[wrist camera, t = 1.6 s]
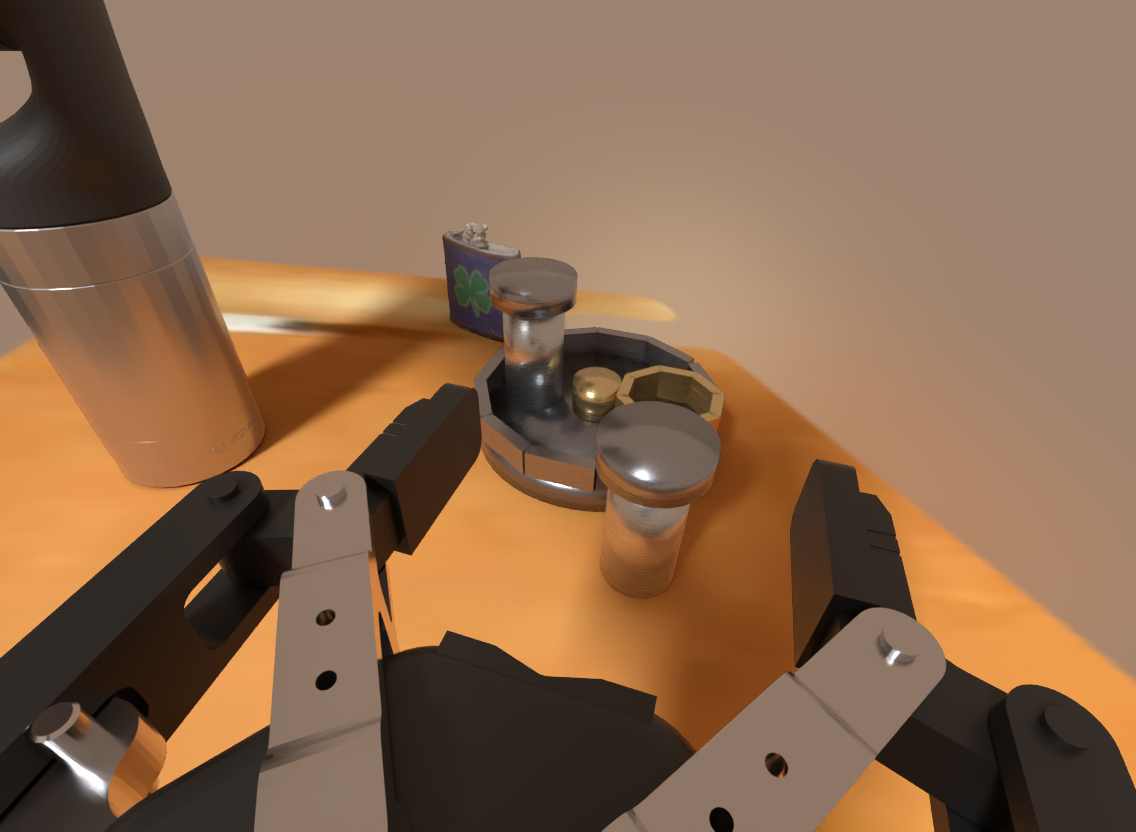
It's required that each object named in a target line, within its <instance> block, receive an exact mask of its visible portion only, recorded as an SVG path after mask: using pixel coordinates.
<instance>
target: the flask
mask: <svg viewBox="0 0 1136 832" xmlns="http://www.w3.org/2000/svg"><path fill="white" fill-rule="evenodd" d="M481 224H482V225H483V226H480V225H478V224H476V223H471V226H470V224H467V225H466V228H467V229H468V231H469V230H471V231H472V232H471V233H467V232H465V231H464V230H465V229H461V230H459V231H449V232H446V233H445V234H444V235H443V244H444V253H445V264H446V274H447V287H448V298H449V307H450V320H451V321H452V322H453V323H454V324H456V325H458V326H459V327H461V328H464V329H465V330H467V331H471V332H473V333H474V332H475V333H477V334H479V335H481V336H484V337H487V338H490V339H493V340H496V341H499V342H504V330H503V312H501V311H499V310H498V309H496V308H495V307H494V306H493V305H492V303H491V300H490V284H489V272H490V270H491V269H492V268H493V267H494V266H495V265H497V264H499V263H501V262H504V261H507V260H511V259H516V258H521V256H520V255H521V254H520V251H519V250H518V249H516V248H512V247H507V246H502V245H499V244H494V243H491V242H487V241H485V237H486V234H485V233H484V231H486V230H487V229H488V226H487V225H486V224H485V223H481Z"/></svg>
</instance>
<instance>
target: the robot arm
mask: <svg viewBox="0 0 1136 832" xmlns="http://www.w3.org/2000/svg"><path fill="white" fill-rule="evenodd" d="M0 51H22V53H23V56H24V59H25V62H26V65H27V68H28V72H29V75H30V78H31V85H32V93H31V95H30V97H29V99H28V100H27V102H26V103H25V104H24V105H23V106H22V107H21V108H20V109H19V110H18V111H17V112H16V113H15V114H14V115H12V116H11V117H9V118H8V119H7V120H5V121H4V122H1V123H0V284H1V285H2V287H3V289H4V290H5V292H6V293H7V295H8V296H9V298H10V299H11V301H12V302H13V304H14V305H15V307H16V308H17V310H18V312H19V313H20V315H21V316H22V318H23V320H24V321H25V323H26V324H27V326H28V327H29V329H30V330H31V332H32V333H33V335H34V337H35V338H36V340H37V341H38V343H39V346H40V348H41V349H42V351H43V352H44V354H45V355H46V357H47V358H48V360H49V361H50V363H51V364H52V366H53V368H54V369H55V371H56V372H57V374H58V375H59V377H60V378H61V380H62V381H63V383H64V385H65V386H66V388H67V389H68V391H69V392H70V394H71V395H72V397H73V398H74V400H75V402H76V403H77V405H78V406H79V408H80V409H81V411H82V412H83V414H84V415H85V417H86V419H87V420H88V422H89V423H90V425H91V426H92V428H93V429H94V431H95V432H96V434H97V435H98V437H99V439H100V440H101V442H102V443H103V445H104V446H105V448H106V449H107V451H108V452H109V454H110V456H112V457H113V459H114V460H115V462H116V463H117V465H118V466H119V468H120V469H121V471H122V472H123V474H124V476H125V477H126V478H127V479H129V480H130V481H132V482H133V483H136V484H139V485H142V486H147V487H157V488H162V487H176V486H182V485H188V484H192V483H196V482H199V481H202V480H206V479H208V480H206V481H204V482H202V483H201V484H200V485H198V486H197V487H196V488H195V489H193V490H192V491H191V492H190V493H189V494H188V495H187V496H185V497H184V498H183V499H182V500H181V501H180V502H179V503H177V504H176V505H175V506H174V507H173V508H172V509H171V510H169V511H168V512H167V513H166V514H165V515H164V516H162V517H161V518H160V519H159V520H158V521H157V522H156V523H154V524H153V525H152V526H151V527H150V528H149V529H148V530H146V531H145V532H144V533H143V534H142V535H141V536H140V537H138V538H137V539H136V540H135V541H134V542H133V543H132V544H130V545H129V546H128V547H127V548H126V549H125V550H124V551H122V552H121V553H120V554H119V555H118V556H117V557H116V558H114V559H113V560H112V561H111V562H110V563H109V564H108V565H106V566H105V567H104V568H103V569H102V570H101V571H100V572H98V573H97V574H96V575H95V576H94V577H93V578H92V579H90V580H89V581H88V582H87V583H86V584H85V585H84V586H82V587H81V588H80V589H79V590H78V591H77V592H76V593H74V594H73V595H72V596H71V597H70V598H69V599H68V600H66V601H65V602H64V603H63V604H62V605H61V606H60V607H58V608H57V609H56V610H55V611H54V612H53V613H52V614H50V615H49V616H48V617H47V618H46V619H45V620H44V621H42V622H41V623H40V624H39V625H38V626H37V627H36V628H34V629H33V630H32V631H31V632H30V633H29V634H28V635H26V636H25V637H24V638H23V639H22V640H21V641H20V642H18V643H17V644H16V645H15V646H14V647H13V648H12V649H10V650H9V651H8V652H7V653H6V654H5V655H4V656H2V657H1V658H0V832H813V831H814V830H815V829H816V828H817V827H818V825H819V824H820V823H821V822H822V821H823V820H824V818H825V817H826V816H827V815H828V814H829V812H830V811H831V810H832V809H833V808H834V806H835V805H836V804H837V803H838V802H839V801H840V799H841V798H842V797H843V796H844V795H845V793H846V792H847V791H848V790H849V789H850V787H851V786H852V785H853V784H854V783H855V782H856V780H857V779H858V778H859V777H860V776H861V774H862V773H863V772H864V771H865V770H866V768H867V767H868V766H869V765H870V764H871V763H872V761H873V760H874V759H875V760H877V761H878V762H880V763H881V764H883V765H884V766H886V767H888V768H889V769H891V770H892V771H894V772H895V773H897V774H899V775H900V776H902V777H903V778H905V779H906V780H908V781H910V782H911V783H913V784H914V785H916V786H917V787H919V788H921V789H922V790H924V791H925V792H927V793H928V794H929V797H930V804H931V811H932V818H933V825H934V832H1136V789H1135V787H1134V784H1133V782H1132V779H1131V777H1130V775H1129V772H1128V770H1127V767H1126V765H1125V762H1124V760H1123V758H1122V755H1121V753H1120V750H1119V748H1118V747H1117V745H1116V743H1115V741H1114V739H1113V738H1112V736H1111V735H1110V733H1109V732H1108V731H1107V730H1106V728H1105V727H1104V726H1103V725H1102V724H1101V723H1100V722H1099V721H1098V720H1097V719H1096V718H1095V717H1094V716H1093V715H1092V714H1091V713H1090V712H1089V711H1088V710H1086V709H1085V708H1084V707H1082V706H1081V705H1080V704H1078V703H1077V702H1076V701H1074V700H1072V699H1071V698H1069V697H1067V696H1066V695H1064V694H1061V693H1059V692H1057V691H1055V690H1052V689H1050V688H1047V687H1043V686H1039V685H1031V684H1029V685H1021V686H1017V687H1015V688H1014V689H1012V690H1011V691H1010V692H1009V693H1008V694H1007V693H1006V692H1004V691H1002V690H1000V689H998V688H996V687H994V686H992V685H990V684H988V683H987V682H985V681H983V680H981V679H979V678H977V677H975V676H973V675H971V674H969V673H968V672H966V671H964V670H962V669H960V668H959V667H957V666H955V665H954V664H953V663H951V662H950V661H948V660H947V659H946V658H945V655H944V653H943V650H942V648H941V646H940V645H939V643H938V641H937V640H936V639H935V638H934V636H933V635H932V634H931V633H930V632H929V631H928V630H927V629H926V628H925V627H924V626H922V625H921V624H920V623H919V622H917V620H916V616H915V612H914V608H913V604H912V600H911V595H910V591H909V587H908V583H907V579H906V575H905V571H904V566H903V562H902V558H901V556H899V554H900V550H899V546H898V541H897V540H896V539H895V537H896V533H895V529H894V525H893V521H892V517H891V514H890V513H889V512H888V510H887V509H886V508H885V506H884V505H883V504H882V502H881V501H880V500H879V499H878V497H877V496H876V495H872V494H867V493H862V492H860V491H859V486H858V481H857V475H856V470H855V468H854V467H853V466H848V465H843V464H838V463H833V462H829V461H824V460H819V459H816V460H815V461H814V463H813V465H812V467H811V469H810V472H809V474H808V477H807V479H806V482H805V484H804V487H803V489H802V492H801V494H800V497H799V499H798V502H797V504H796V507H795V510H794V513H793V517H792V522H791V530H790V544H791V574H792V603H793V632H794V661H795V667H797V668H800V669H799V670H798V671H796V672H795V673H794V674H792V673H791V672H787V673H785V674H783V675H782V676H781V677H779V678H778V679H777V680H776V681H775V682H774V683H773V684H771V685H770V686H769V687H768V688H767V689H766V690H765V691H764V692H763V693H761V694H760V695H759V696H758V697H757V698H756V699H755V700H754V701H753V702H752V703H750V704H749V705H748V706H747V707H746V708H745V709H744V710H743V711H742V712H741V713H739V714H738V715H737V716H736V717H735V718H734V719H733V720H732V721H731V722H729V723H728V724H727V725H726V726H725V727H724V728H723V729H722V730H721V731H720V732H718V733H717V734H716V735H715V736H714V737H713V738H712V739H711V740H710V741H709V742H707V743H706V744H705V745H704V746H703V747H702V748H701V749H700V750H699V751H698V752H696V751H695V750H694V748H693V747H692V746H691V745H690V743H689V742H688V741H687V740H686V739H685V738H684V737H683V736H682V735H681V734H680V733H679V732H678V731H677V730H676V729H675V728H674V727H672V726H671V725H670V724H669V723H667V722H666V721H665V720H664V719H662V718H660V717H659V716H657V715H656V714H654V710H655V704H656V698H657V696H654V695H651V694H647V693H644V692H641V691H638V690H635V689H632V688H628V687H625V686H622V685H619V684H616V683H612V682H609V681H606V680H603V679H589V678H570V677H550V676H543V675H540V674H539V673H537V672H535V671H534V670H532V669H531V668H529V667H528V666H526V665H524V664H523V663H521V662H520V661H518V660H517V659H515V658H514V657H512V656H511V655H509V654H507V653H506V652H504V651H503V650H501V649H500V648H498V647H497V646H495V645H492V644H489V643H485V642H482V641H479V640H476V639H473V638H470V637H466V636H463V635H460V634H457V633H454V632H450V631H447V632H446V634H445V636H444V638H443V639H442V641H441V643H440V645H439V646H425V647H417V648H412V649H408V650H404V651H401V652H400V651H399V646H398V641H397V636H396V629H395V620H394V612H393V604H392V596H391V587H390V579H389V571H388V565H387V560H388V558H389V557H390V556H391V554H392V553H393V551H398V552H401V553H405V554H408V555H412V554H413V552H414V551H415V549H416V548H417V546H418V545H419V543H420V542H421V540H422V539H423V537H424V536H425V535H426V533H427V532H428V530H429V529H430V527H431V526H432V524H433V523H434V521H435V520H436V518H437V517H438V515H439V514H440V512H441V511H442V509H443V508H444V507H445V505H446V504H447V502H448V501H449V499H450V498H451V496H452V495H453V493H454V492H455V490H456V489H457V487H458V486H459V484H460V483H461V481H462V480H463V479H464V477H465V476H466V474H467V473H468V471H469V470H470V468H471V467H472V465H473V464H474V462H475V461H476V459H477V457H478V455H479V452H480V448H481V443H482V432H481V420H480V409H479V397H478V392H477V390H476V389H474V388H469V387H464V386H460V385H455V384H450V383H446V384H444V385H443V386H442V387H441V388H440V389H439V390H438V391H437V392H436V393H435V394H434V396H433V397H432V398H431V399H430V400H429V399H425V398H423V399H421V400H419V401H417V402H415V403H414V404H412V405H410V406H408V407H406V408H405V409H404V410H403V411H402V412H401V413H400V414H399V415H398V416H397V417H396V418H395V419H394V420H393V423H390V425H389V426H388V427H387V428H386V429H385V430H384V431H383V434H380V435H379V436H378V437H377V438H376V439H375V440H374V441H373V442H372V443H371V444H370V445H369V447H368V448H367V449H366V450H365V451H364V452H363V453H362V454H361V455H360V456H359V457H358V458H357V459H356V460H355V461H354V462H353V463H352V464H351V465H350V466H349V468H348V469H347V470H346V471H333V472H328V473H324V474H322V475H319V476H317V477H315V478H313V479H311V480H310V481H308V482H307V483H306V484H305V485H304V486H303V487H302V488H301V489H300V490H264V488H263V486H262V483H261V481H260V479H259V478H258V477H257V476H256V475H255V474H253V473H250V472H246V471H232V472H226V473H223V472H225V471H227V470H229V469H230V468H232V467H234V466H236V465H237V464H239V463H240V462H242V461H243V460H244V459H246V458H247V457H248V456H249V455H250V454H251V453H252V452H253V451H254V450H256V449H257V447H258V446H259V444H260V443H261V441H262V440H263V437H264V434H265V423H264V421H263V418H262V415H261V413H260V410H259V408H258V405H257V403H256V400H255V398H254V395H253V393H252V390H251V388H250V385H249V382H248V379H247V377H246V374H245V372H244V369H243V366H242V364H241V361H240V359H239V356H238V354H237V351H236V349H235V346H234V344H233V341H232V339H231V336H230V334H229V331H228V329H227V326H226V324H225V321H224V319H223V316H222V314H221V311H220V308H219V306H218V303H217V301H216V298H215V296H214V293H213V291H212V288H211V286H210V283H209V281H208V278H207V276H206V273H205V271H204V268H203V266H202V263H201V261H200V258H199V255H198V253H197V250H196V248H195V245H194V243H193V241H192V238H191V236H190V233H189V231H188V228H187V226H186V223H185V221H184V218H183V216H182V213H181V211H180V208H179V206H178V203H177V201H176V198H175V196H174V193H173V192H172V188H171V186H170V183H169V181H168V178H167V176H166V173H165V171H164V168H163V166H162V163H161V160H160V158H159V155H158V152H157V149H156V147H155V144H154V141H153V138H152V135H151V132H150V129H149V127H148V124H147V121H146V119H145V117H144V113H143V111H142V108H141V106H140V103H139V100H138V98H137V95H136V92H135V90H134V87H133V85H132V82H131V79H130V77H129V74H128V71H127V68H126V65H125V63H124V60H123V57H122V54H121V51H120V48H119V45H118V43H117V40H116V37H115V34H114V31H113V28H112V25H111V22H110V19H109V16H108V13H107V10H106V7H105V4H104V1H103V0H0ZM221 473H222V474H221ZM218 474H219V475H218ZM213 476H214V477H213ZM218 562H219V564H220V566H221V568H222V569H221V570H220V571H219V572H218V573H217V574H216V575H215V576H214V577H213V578H212V579H211V580H210V581H209V583H208V584H207V585H206V586H205V587H204V588H203V589H202V590H201V591H200V592H199V593H198V594H197V595H196V597H195V598H194V599H193V600H192V601H191V602H190V603H189V604H188V605H187V606H186V607H185V608H184V605H185V602H186V599H187V597H188V596H189V594H190V593H191V591H192V590H193V589H194V588H195V587H196V586H197V585H198V584H199V582H200V581H201V580H202V579H203V578H204V577H205V576H206V575H207V574H208V573H209V572H210V571H211V570H212V569H213V568H214V567H215V566H216V564H217V563H218ZM278 599H279V607H278V621H277V635H276V649H275V664H274V678H273V692H272V706H271V721H270V725H268V726H266V727H265V728H263V729H261V730H259V731H258V732H256V733H254V734H253V735H251V736H249V737H247V738H246V739H244V740H242V741H241V742H239V743H237V744H235V745H234V746H232V747H230V748H229V749H227V750H225V751H223V752H222V753H220V754H218V755H217V756H215V757H213V758H211V759H210V760H208V761H206V762H205V763H203V764H201V765H199V766H198V767H196V768H194V769H193V770H191V771H189V772H187V773H186V774H184V775H182V776H181V777H179V778H177V779H175V780H174V781H172V782H170V783H169V784H167V785H165V786H163V787H162V788H160V789H158V786H159V780H158V776H159V774H160V772H161V770H162V768H163V765H164V762H165V759H166V753H167V748H166V742H167V741H168V739H169V738H170V737H171V736H172V734H173V733H174V732H175V731H176V729H177V728H178V727H179V725H180V724H181V723H182V722H183V720H184V719H185V718H186V716H187V715H188V714H189V713H190V711H191V710H192V709H193V707H194V706H195V705H196V704H197V702H198V701H199V700H200V698H201V697H202V696H203V695H204V693H205V692H206V691H207V690H208V688H209V687H210V686H211V684H212V683H213V682H214V681H215V679H216V678H217V677H218V675H219V674H220V673H221V672H222V670H223V669H224V668H225V666H226V665H227V664H228V663H229V661H230V660H231V659H232V657H233V656H234V655H235V654H236V652H237V651H238V650H239V649H240V647H241V646H242V645H243V643H244V642H245V641H246V640H247V638H248V637H249V636H250V634H251V633H252V632H253V631H254V629H255V628H256V627H257V625H258V624H259V623H260V622H261V620H262V619H263V618H264V616H265V615H266V614H267V613H268V611H269V610H270V609H271V608H272V606H273V605H274V604H275V602H276V601H277V600H278ZM157 789H158V790H157Z"/></svg>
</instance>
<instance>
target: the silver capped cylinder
mask: <svg viewBox="0 0 1136 832" xmlns="http://www.w3.org/2000/svg"><path fill="white" fill-rule="evenodd" d="M720 454H721V441H720V438H719V435H718V434H717V432H716V430H715V429H714V428H713V426H712V425H711V424H710V423H709V422H708V421H706V420H705V419H704V418H703V417H701V416H700V415H698V414H696V413H694V412H693V411H691V410H688V409H686V408H684V407H681V406H677V405H674V404H670V403H664V402H656V401H642V402H634V403H629V404H625V405H622V406H619V407H617V408H615V409H613V410H612V411H610V412H609V413H608V414H607V415H605V416H604V418H603V419H602V420H601V422H600V424H599V426H598V430H597V441H596V453H595V467H596V471H597V473H598V476H599V478H600V479H601V480H602V482H603V483H604V484H605V485H606V486H607V488H608V491H607V500H606V510H605V519H604V529H603V539H602V548H601V558H600V569H601V572H602V575H603V577H604V579H605V580H606V581H607V583H608V584H609V585H610V586H611V587H612V588H614V589H615V590H616V591H618V592H620V593H622V594H624V595H627V596H630V597H636V598H647V597H652V596H655V595H658V594H660V593H661V592H663V591H664V590H665V589H666V588H667V587H668V586H669V585H670V583H671V581H672V578H673V575H674V570H675V566H676V562H677V558H678V554H679V550H680V545H681V541H682V537H683V533H684V529H685V525H686V521H687V516H688V512H689V508H690V504H691V503H693V502H695V501H697V500H699V499H700V498H702V497H703V496H704V495H705V494H706V493H707V492H708V491H709V489H710V488H711V486H712V484H713V480H714V476H715V472H716V469H717V465H718V461H719V457H720Z"/></svg>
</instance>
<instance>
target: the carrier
mask: <svg viewBox="0 0 1136 832" xmlns="http://www.w3.org/2000/svg"><path fill="white" fill-rule="evenodd" d="M489 284H490V300H491V303H492V305H493V306H494V307H495V308H496V309H498V310H499V311H501V312H503V330H504V347H503V348H501V349H500V350H498V351H497V352H496V354H495V355H494V356H493V357H492V358H491V359H490V361H489V362H488V363H487V364H486V365H485V367H484V368H483V369H482V370H481V371H480V373H479V374H478V375H477V376H476V377H475V378H474V379H475V380H474V385H475V389H476V390H477V392H478V397H479V409H480V420H481V432H482V443H481V448H482V451H483V453H484V455H485V457H486V460H487V461H488V462H489V464H490V465H491V467H492V468H493V469H494V470H495V472H496V473H497V474H498V475H499V476H500V477H501V478H502V479H504V480H505V481H506V482H508V483H509V484H510V485H511V486H513V487H514V488H516V489H518V490H519V491H521V492H523V493H525V494H526V495H528V496H531V497H533V498H535V499H538V500H540V501H543V502H546V503H549V504H552V505H555V506H559V507H564V508H569V509H574V510H582V511H592V512H605V510H606V500H607V491H608V488H607V486H606V485H605V484H604V483H603V482H602V480H601V479H600V478H599V476H598V473H597V471H596V467H595V453H596V441H597V430H598V426H599V424H600V422H601V420H602V419H603V418H604V416H605V415H607V414H608V413H609V412H610V411H612V410H613V409H615V408H617V407H619V406H622V405H625V404H629V403H634V402H642V401H656V402H664V403H670V404H674V405H677V406H681V407H684V408H686V409H688V410H691V411H693V412H694V413H696V414H698V415H700V416H701V417H703V418H704V419H705V420H706V421H708V422H709V423H710V424H711V425H712V426H713V428H714V429H715V430H716V432H717V431H718V427H719V423H720V419H721V414H722V408H723V401H724V392H722V391H721V390H720V389H719V388H717V386H716V385H715V384H714V382H713V381H712V380H711V378H710V377H709V376H708V375H707V373H706V372H705V371H704V369H703V368H702V367H701V366H700V364H699V363H693V362H694V358H693V357H691V356H689V355H687V354H685V353H683V352H681V351H679V350H677V349H675V348H673V347H671V346H669V345H667V344H665V343H663V342H661V341H659V340H656V339H655V338H652V337H650V338H649V336H645V335H639V334H634V333H628V332H622V331H617V330H611V329H605V328H599V327H598V329H597V328H596V327H592V328H579V329H566V330H564V314H565V312H566V311H568V310H570V309H571V308H572V307H573V306H574V305H575V303H576V296H577V272H576V270H575V269H574V268H573V267H571V266H570V265H568V264H566V263H564V262H561V261H558V260H554V259H548V258H538V257H527V258H516V259H511V260H507V261H504V262H501V263H499V264H497V265H495V266H494V267H493V268H492V269H491V270H490V272H489Z"/></svg>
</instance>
